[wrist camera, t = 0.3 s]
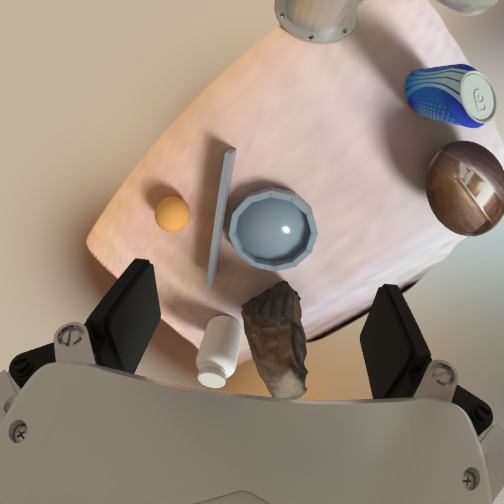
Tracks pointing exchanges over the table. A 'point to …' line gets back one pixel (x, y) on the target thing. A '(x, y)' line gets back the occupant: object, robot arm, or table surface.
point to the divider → (220, 214)
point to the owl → (277, 340)
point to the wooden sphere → (466, 188)
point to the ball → (172, 214)
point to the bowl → (273, 229)
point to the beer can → (452, 95)
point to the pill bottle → (219, 351)
